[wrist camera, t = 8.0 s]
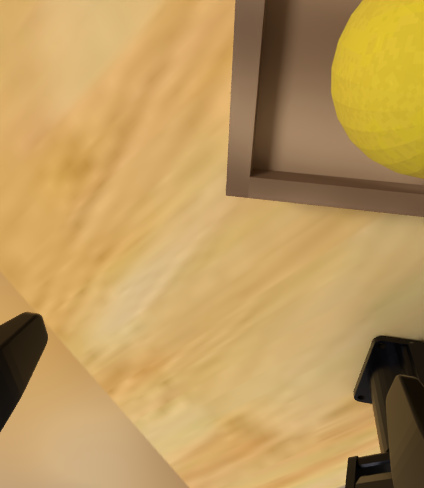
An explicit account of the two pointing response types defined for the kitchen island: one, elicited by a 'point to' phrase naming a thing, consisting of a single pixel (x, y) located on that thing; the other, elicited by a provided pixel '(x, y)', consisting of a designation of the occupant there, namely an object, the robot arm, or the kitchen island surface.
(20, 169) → the kitchen island surface
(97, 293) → the kitchen island surface
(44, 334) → the robot arm
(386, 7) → the lemon
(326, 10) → the walnut base
